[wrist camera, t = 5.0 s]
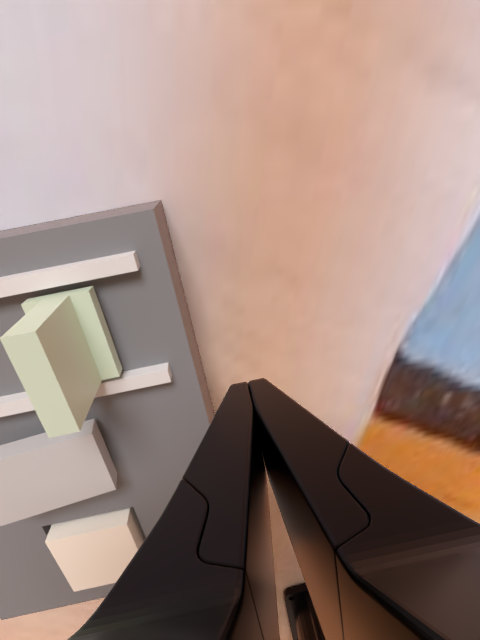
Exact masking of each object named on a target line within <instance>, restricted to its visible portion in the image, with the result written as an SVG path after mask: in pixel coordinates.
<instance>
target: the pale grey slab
mask: <svg viewBox="0 0 480 640" xmlns="http://www.w3.org/2000/svg"><path fill="white" fill-rule="evenodd" d="M116 483H117V471H116V469H115V466H114V464H113V461H112V459H111V457H110V454H109V452H108V449H107V447H106V445H105V442H104V440H103V437H102V435H101V433H100V430H99V428H98V425H97V423H96V421H95V418H94V419H90V420H87V421H84V423H83V426H82V428H81V430H80V432H75V433H70V434H65V435H60V436H56V437H51V438H49V437H48V435H47V433H46V432H45V433H42V434H38V435H35V436H31V437H28V438H24V439H21V440H17V441H14V442H10V443H7V444H3V445H0V526H3V525H6V524H10V523H13V522H16V521H19V520H22V519H25V518H28V517H31V516H35V515H38V514H41V513H44V512H47V511H50V510H53V509H57V508H60V507H63V506H66V505H69V504H72V503H75V502H79V501H82V500H85V499H88V498H91V497H94V496H97V495H100V494H104V493H107V492H110V491H113V490H116Z"/></svg>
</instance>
